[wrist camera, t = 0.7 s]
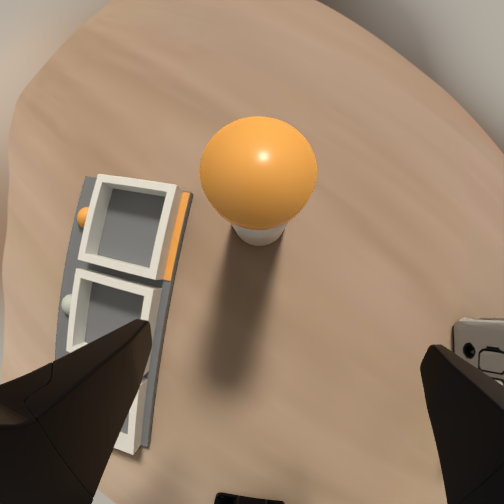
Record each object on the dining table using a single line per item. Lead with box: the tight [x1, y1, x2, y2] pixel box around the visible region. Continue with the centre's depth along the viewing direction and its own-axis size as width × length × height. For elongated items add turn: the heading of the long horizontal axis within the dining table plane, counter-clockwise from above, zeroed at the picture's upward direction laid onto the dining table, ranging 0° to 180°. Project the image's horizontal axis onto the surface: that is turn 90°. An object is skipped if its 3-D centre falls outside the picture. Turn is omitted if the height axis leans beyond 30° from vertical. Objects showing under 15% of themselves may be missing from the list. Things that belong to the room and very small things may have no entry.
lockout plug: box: [200, 117, 317, 246], centre depth 18 cm, size 5×5×12 cm
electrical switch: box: [454, 318, 504, 386], centre depth 18 cm, size 9×5×9 cm, turn 9°
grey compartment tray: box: [55, 174, 193, 455], centre depth 22 cm, size 22×10×3 cm, turn 168°
